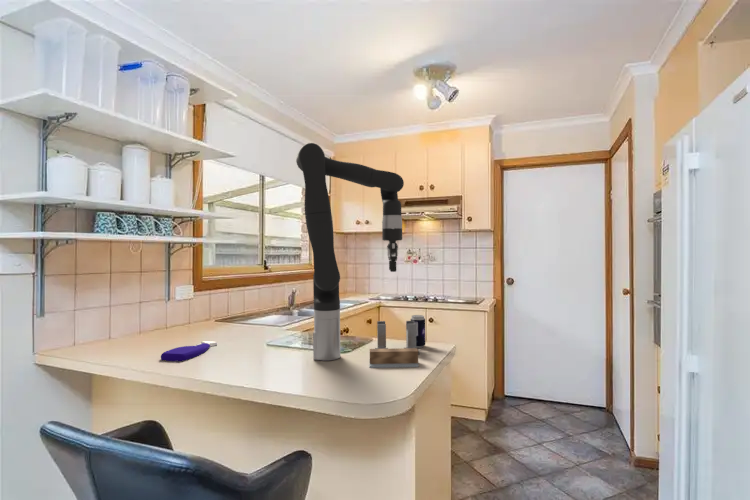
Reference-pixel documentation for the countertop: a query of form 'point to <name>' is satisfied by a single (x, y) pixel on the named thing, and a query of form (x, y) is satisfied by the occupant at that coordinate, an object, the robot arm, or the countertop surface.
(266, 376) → the countertop surface
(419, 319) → the beverage can
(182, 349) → the purple flat tapered piece
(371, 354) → the rail
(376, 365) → the mat
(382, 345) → the grey metal bracket
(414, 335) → the grey bracket
